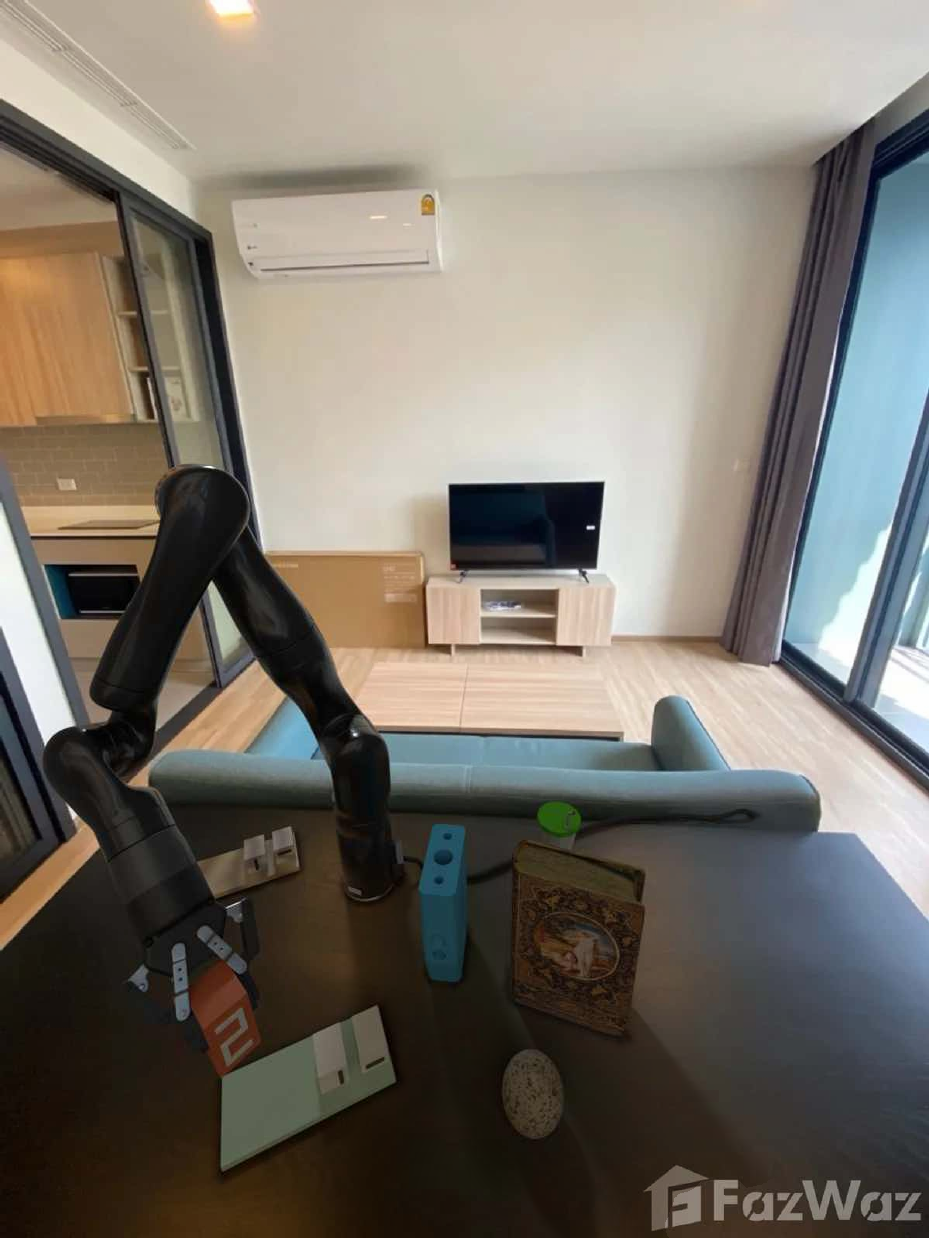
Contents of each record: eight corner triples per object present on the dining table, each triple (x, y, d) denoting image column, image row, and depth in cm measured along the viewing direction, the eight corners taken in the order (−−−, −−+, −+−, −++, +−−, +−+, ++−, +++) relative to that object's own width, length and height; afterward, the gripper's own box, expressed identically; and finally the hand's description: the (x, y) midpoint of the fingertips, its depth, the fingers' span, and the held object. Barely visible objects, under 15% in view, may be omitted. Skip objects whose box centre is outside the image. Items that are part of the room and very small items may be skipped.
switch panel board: (378, 1009, 70) (375, 989, 68) (396, 1081, 63) (393, 1060, 61) (223, 1080, 63) (216, 1059, 61) (222, 1172, 55) (213, 1151, 54)
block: (459, 995, 72) (455, 896, 64) (425, 991, 72) (417, 893, 65) (468, 918, 83) (466, 825, 75) (438, 915, 83) (433, 823, 76)
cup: (535, 840, 97) (538, 779, 92) (576, 844, 96) (581, 782, 91) (534, 874, 90) (537, 810, 85) (578, 879, 89) (584, 814, 84)
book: (505, 998, 71) (507, 869, 62) (514, 961, 76) (517, 836, 67) (625, 1040, 66) (647, 907, 57) (626, 997, 71) (647, 868, 62)
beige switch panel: (294, 835, 100) (291, 818, 98) (299, 870, 92) (296, 852, 91) (183, 870, 93) (177, 852, 91) (178, 911, 85) (172, 892, 83)
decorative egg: (571, 1143, 57) (577, 1094, 53) (511, 1162, 56) (513, 1113, 52) (548, 1069, 63) (552, 1020, 60) (494, 1084, 62) (494, 1035, 58)
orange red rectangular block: (238, 1005, 59) (224, 957, 55) (262, 1043, 55) (248, 994, 52) (199, 1039, 56) (181, 990, 52) (221, 1080, 52) (204, 1031, 49)
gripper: (83, 924, 48) (159, 1100, 45) (229, 836, 58) (300, 976, 55) (85, 927, 53) (154, 1085, 50) (219, 847, 63) (283, 974, 60)
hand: (230, 1027), depth 53 cm, fingers closed on orange red rectangular block, 4 cm apart
